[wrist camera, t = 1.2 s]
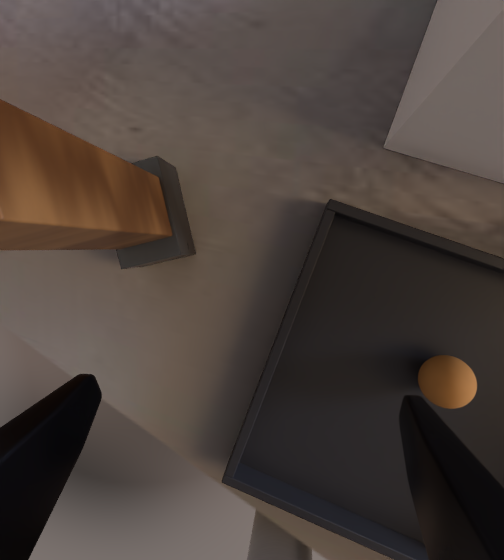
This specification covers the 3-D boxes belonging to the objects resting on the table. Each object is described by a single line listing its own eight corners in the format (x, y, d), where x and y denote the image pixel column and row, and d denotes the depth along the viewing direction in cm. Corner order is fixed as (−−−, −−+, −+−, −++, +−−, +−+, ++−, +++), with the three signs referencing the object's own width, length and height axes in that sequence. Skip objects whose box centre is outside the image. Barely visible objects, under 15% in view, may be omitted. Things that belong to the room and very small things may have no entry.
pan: (497, 579, 23) (518, 615, 21) (228, 461, 25) (221, 482, 23) (639, 311, 20) (682, 319, 18) (327, 203, 22) (329, 198, 20)
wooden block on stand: (196, 254, 24) (21, 264, 9) (143, 266, 24) (-103, 295, 10) (175, 167, 23) (-42, 28, 9) (122, 182, 24) (-167, 77, 9)
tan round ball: (450, 402, 22) (473, 427, 19) (403, 384, 22) (419, 405, 19) (470, 359, 21) (497, 377, 18) (422, 341, 22) (441, 356, 19)
